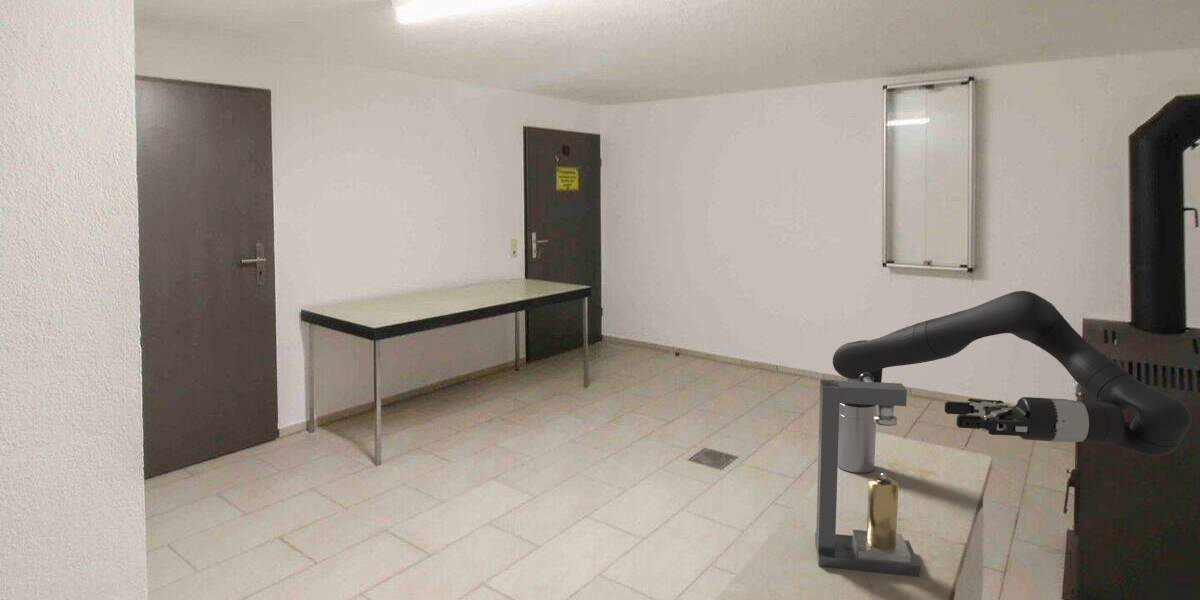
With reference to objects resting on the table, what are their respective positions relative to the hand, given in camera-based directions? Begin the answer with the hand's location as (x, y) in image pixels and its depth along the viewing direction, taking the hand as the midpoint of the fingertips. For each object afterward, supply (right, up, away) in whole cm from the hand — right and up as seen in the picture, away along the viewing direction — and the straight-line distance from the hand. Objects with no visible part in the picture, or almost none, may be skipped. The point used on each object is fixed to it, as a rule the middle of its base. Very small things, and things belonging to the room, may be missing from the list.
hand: (950, 414), depth 125 cm
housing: (-10, -25, +6) cm, 28 cm away
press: (-12, -28, +11) cm, 33 cm away
